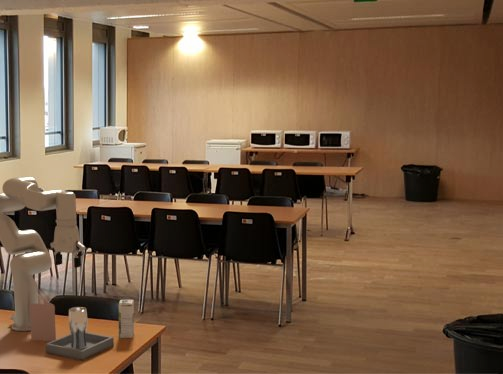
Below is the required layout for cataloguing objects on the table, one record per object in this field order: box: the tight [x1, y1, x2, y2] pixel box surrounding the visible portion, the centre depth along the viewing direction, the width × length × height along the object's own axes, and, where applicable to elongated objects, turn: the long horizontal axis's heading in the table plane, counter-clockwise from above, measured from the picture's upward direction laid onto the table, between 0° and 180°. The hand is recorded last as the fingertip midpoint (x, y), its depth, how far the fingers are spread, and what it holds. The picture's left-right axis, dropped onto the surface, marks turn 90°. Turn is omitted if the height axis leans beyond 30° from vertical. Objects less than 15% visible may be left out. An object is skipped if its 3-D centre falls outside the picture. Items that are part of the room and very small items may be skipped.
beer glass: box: [68, 306, 88, 350], centre depth 277 cm, size 7×7×15 cm
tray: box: [45, 331, 115, 361], centre depth 277 cm, size 18×18×4 cm
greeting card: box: [30, 299, 57, 342], centre depth 288 cm, size 11×7×15 cm, turn 37°
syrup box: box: [118, 299, 135, 339], centre depth 292 cm, size 6×6×14 cm
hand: (68, 265), depth 285 cm, fingers open, 9 cm apart
